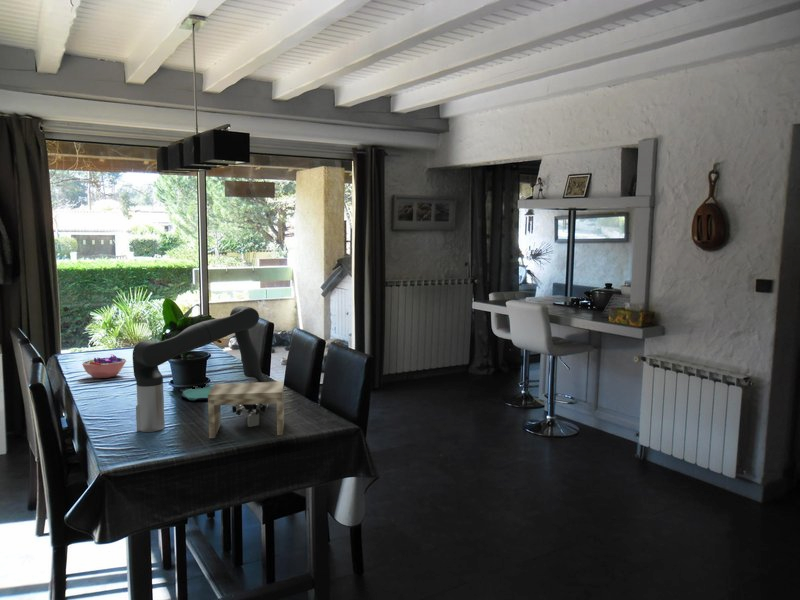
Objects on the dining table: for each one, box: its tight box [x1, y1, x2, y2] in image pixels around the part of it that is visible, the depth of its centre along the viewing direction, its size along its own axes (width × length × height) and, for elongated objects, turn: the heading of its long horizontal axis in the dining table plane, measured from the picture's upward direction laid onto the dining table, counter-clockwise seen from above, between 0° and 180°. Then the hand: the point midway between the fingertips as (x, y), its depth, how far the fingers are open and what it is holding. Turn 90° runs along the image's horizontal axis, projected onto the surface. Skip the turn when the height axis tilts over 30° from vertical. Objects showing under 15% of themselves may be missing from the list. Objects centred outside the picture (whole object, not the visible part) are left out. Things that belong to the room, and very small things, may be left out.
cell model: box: [81, 354, 127, 379], centre depth 310 cm, size 17×20×11 cm
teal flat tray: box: [180, 383, 213, 401], centre depth 281 cm, size 20×30×2 cm, turn 31°
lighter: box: [240, 406, 260, 428], centre depth 232 cm, size 7×2×8 cm, turn 127°
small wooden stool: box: [207, 381, 285, 439], centre depth 229 cm, size 26×16×16 cm, turn 99°
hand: (247, 412), depth 229 cm, fingers closed on lighter, 6 cm apart
